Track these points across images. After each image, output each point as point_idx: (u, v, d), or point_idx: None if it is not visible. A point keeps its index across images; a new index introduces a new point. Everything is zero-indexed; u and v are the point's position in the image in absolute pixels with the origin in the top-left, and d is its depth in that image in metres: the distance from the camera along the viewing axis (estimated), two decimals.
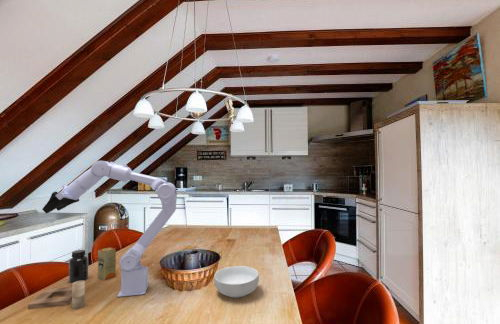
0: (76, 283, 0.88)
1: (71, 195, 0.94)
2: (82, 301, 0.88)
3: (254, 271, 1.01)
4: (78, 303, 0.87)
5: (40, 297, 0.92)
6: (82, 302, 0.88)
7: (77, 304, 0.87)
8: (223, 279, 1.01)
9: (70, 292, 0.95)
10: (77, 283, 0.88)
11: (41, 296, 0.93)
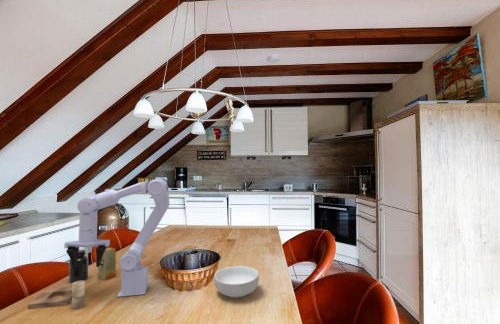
0: (76, 283, 0.88)
1: (78, 242, 0.95)
2: (82, 301, 0.88)
3: (254, 271, 1.01)
4: (78, 303, 0.87)
5: (40, 297, 0.92)
6: (82, 302, 0.88)
7: (77, 304, 0.87)
8: (223, 279, 1.01)
9: (70, 292, 0.95)
10: (77, 283, 0.88)
11: (41, 296, 0.93)
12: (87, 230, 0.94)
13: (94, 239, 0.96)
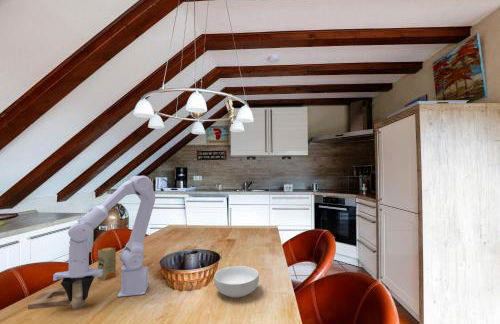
0: (76, 283, 0.88)
1: (68, 273, 0.87)
2: (82, 301, 0.88)
3: (254, 271, 1.01)
4: (78, 303, 0.87)
5: (40, 297, 0.92)
6: (82, 302, 0.88)
7: (77, 304, 0.87)
8: (223, 279, 1.01)
9: None
10: (77, 283, 0.88)
11: (41, 296, 0.93)
12: (77, 260, 0.86)
13: (85, 269, 0.88)
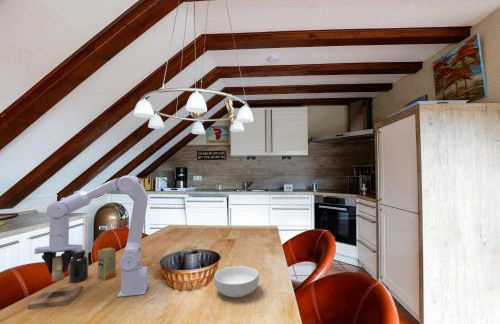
0: (56, 257, 0.94)
1: (49, 247, 0.93)
2: (62, 274, 0.94)
3: (254, 271, 1.01)
4: (58, 275, 0.93)
5: (40, 297, 0.92)
6: (62, 275, 0.94)
7: (56, 276, 0.92)
8: (223, 279, 1.01)
9: (70, 292, 0.95)
10: (57, 257, 0.93)
11: (41, 296, 0.93)
12: (57, 235, 0.92)
13: (65, 244, 0.94)
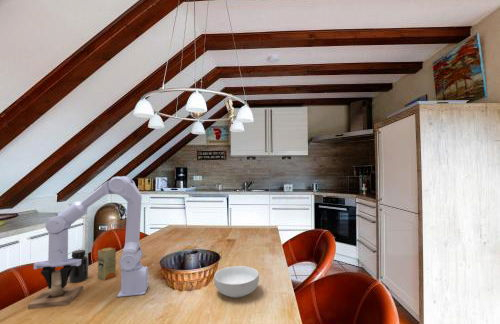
0: (55, 272, 0.94)
1: (48, 262, 0.93)
2: (61, 289, 0.94)
3: (254, 271, 1.01)
4: (57, 291, 0.93)
5: (40, 297, 0.92)
6: (61, 290, 0.94)
7: (56, 291, 0.92)
8: (223, 279, 1.01)
9: (70, 292, 0.95)
10: (56, 272, 0.93)
11: (41, 296, 0.93)
12: (56, 250, 0.92)
13: (64, 259, 0.94)
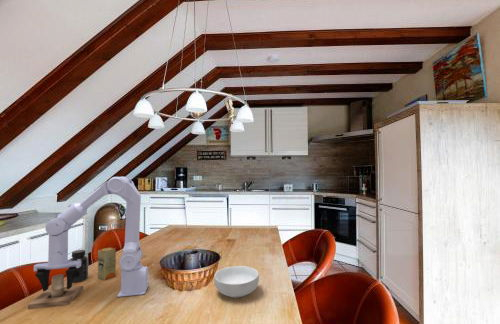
0: (55, 277, 0.94)
1: (48, 264, 0.93)
2: (61, 293, 0.94)
3: (254, 271, 1.01)
4: (57, 295, 0.93)
5: (40, 297, 0.92)
6: (61, 294, 0.94)
7: (56, 296, 0.92)
8: (223, 279, 1.01)
9: (70, 292, 0.95)
10: (56, 277, 0.93)
11: (41, 296, 0.93)
12: (56, 252, 0.92)
13: (64, 261, 0.94)
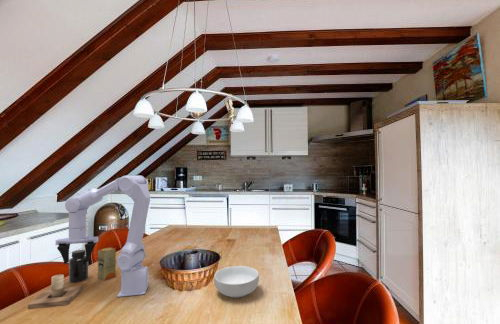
0: (55, 277, 0.94)
1: (68, 239, 1.01)
2: (61, 293, 0.94)
3: (254, 271, 1.01)
4: (57, 295, 0.93)
5: (40, 297, 0.92)
6: (61, 294, 0.94)
7: (56, 296, 0.92)
8: (223, 279, 1.01)
9: (70, 292, 0.95)
10: (56, 277, 0.93)
11: (41, 296, 0.93)
12: (76, 228, 1.01)
13: (83, 236, 1.03)
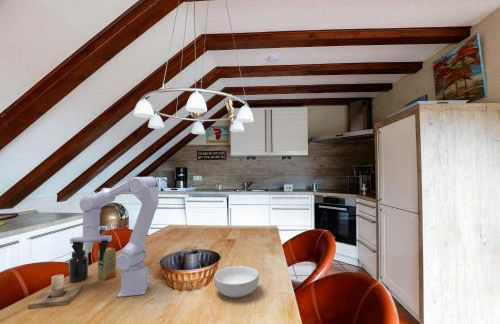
0: (55, 277, 0.94)
1: (82, 238, 1.03)
2: (61, 293, 0.94)
3: (254, 271, 1.01)
4: (57, 295, 0.93)
5: (40, 297, 0.92)
6: (61, 294, 0.94)
7: (56, 296, 0.92)
8: (223, 280, 1.01)
9: (70, 292, 0.95)
10: (56, 277, 0.93)
11: (41, 296, 0.93)
12: (90, 226, 1.02)
13: (97, 235, 1.04)
